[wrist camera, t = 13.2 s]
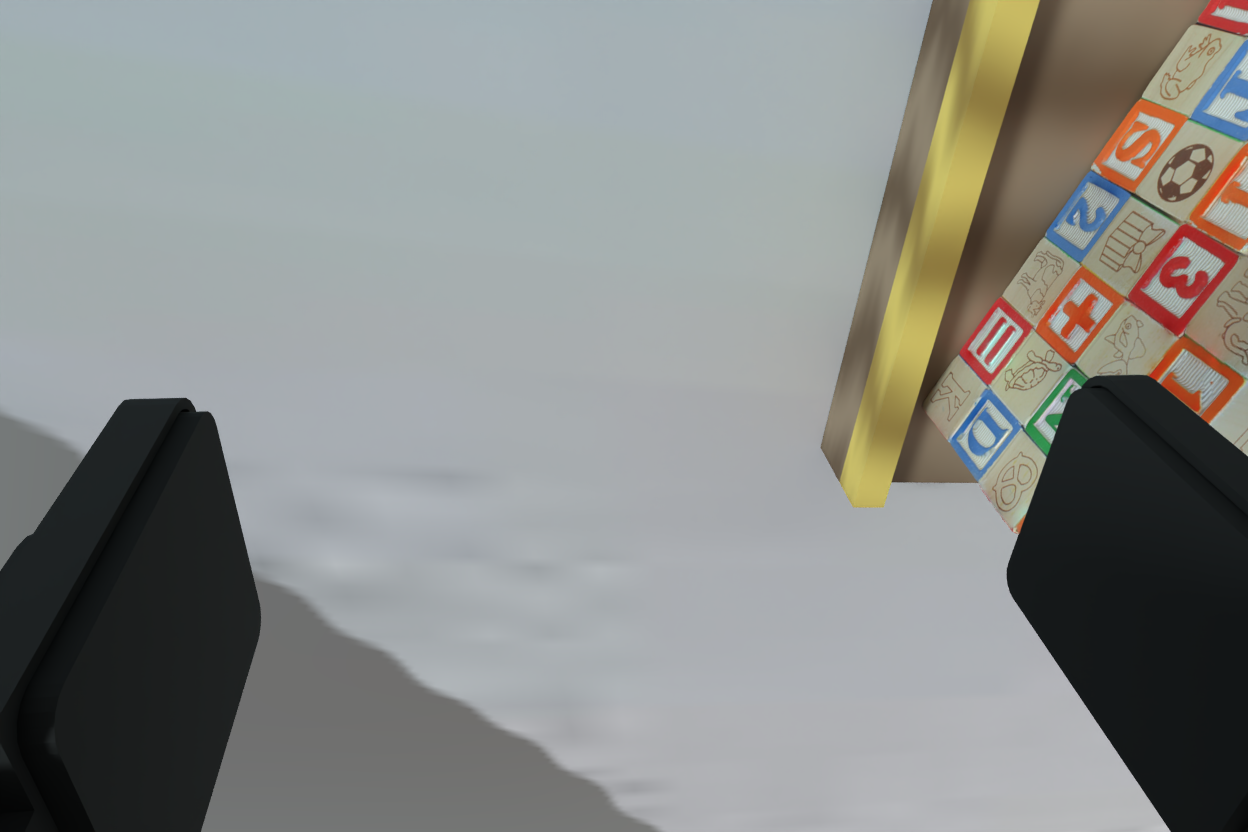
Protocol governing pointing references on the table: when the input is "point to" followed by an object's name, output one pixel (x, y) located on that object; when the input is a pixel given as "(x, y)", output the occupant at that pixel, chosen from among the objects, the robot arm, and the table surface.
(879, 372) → the dock
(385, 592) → the table surface
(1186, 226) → the stack of blocks
